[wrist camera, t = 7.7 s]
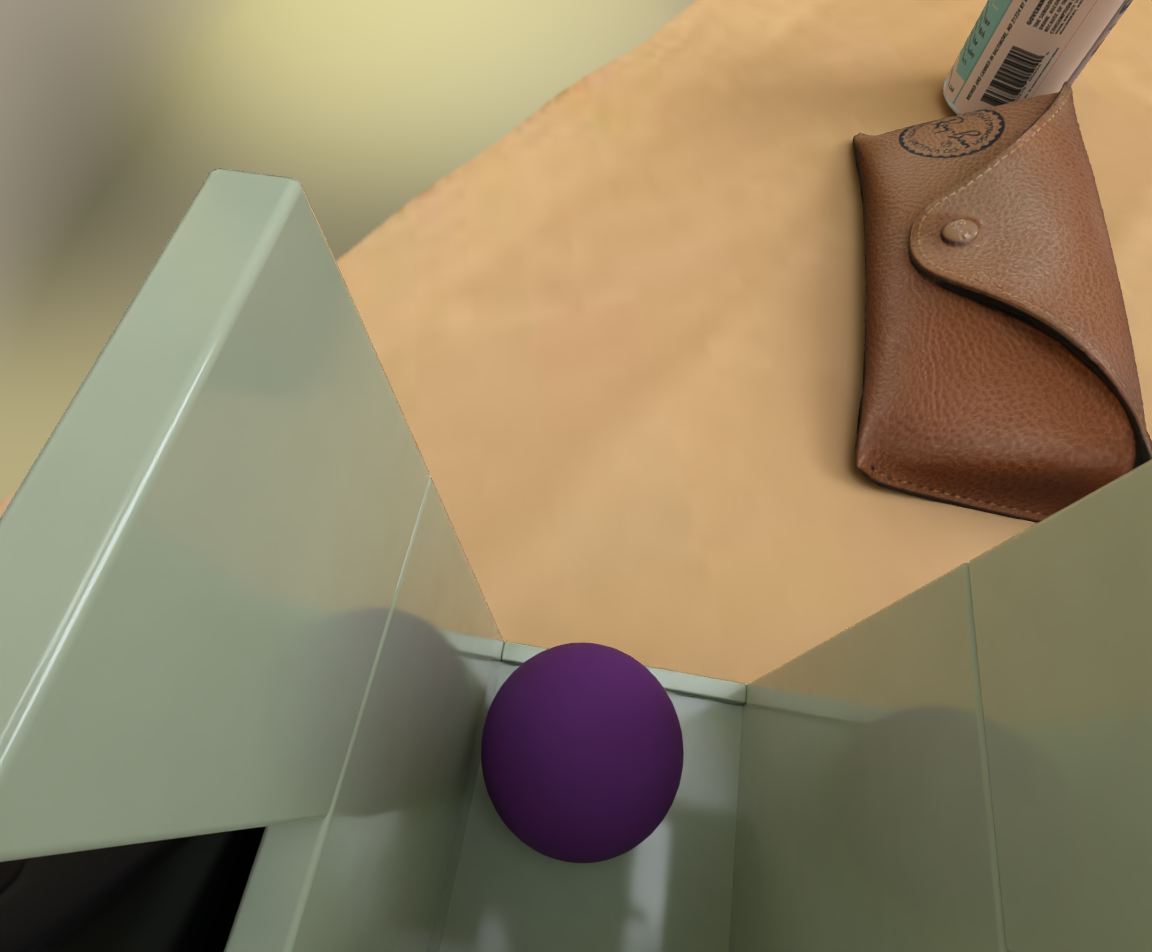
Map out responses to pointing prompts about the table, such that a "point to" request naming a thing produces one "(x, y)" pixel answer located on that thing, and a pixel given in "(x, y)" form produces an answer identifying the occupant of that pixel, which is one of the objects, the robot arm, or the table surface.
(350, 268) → the table surface
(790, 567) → the table surface
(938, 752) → the pale green open holder
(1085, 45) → the beer can
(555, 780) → the ball
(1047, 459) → the sunglasses case
